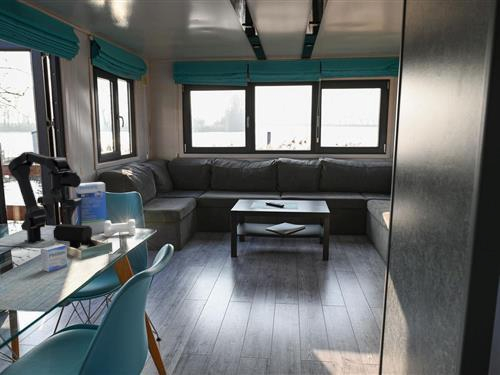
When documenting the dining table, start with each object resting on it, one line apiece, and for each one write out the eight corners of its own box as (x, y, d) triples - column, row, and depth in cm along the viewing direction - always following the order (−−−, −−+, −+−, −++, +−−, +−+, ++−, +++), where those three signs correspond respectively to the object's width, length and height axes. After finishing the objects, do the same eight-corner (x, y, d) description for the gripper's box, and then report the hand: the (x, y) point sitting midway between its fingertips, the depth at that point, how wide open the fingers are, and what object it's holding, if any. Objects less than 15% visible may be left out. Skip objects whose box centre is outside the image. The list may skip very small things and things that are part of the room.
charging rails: (53, 248, 173) (52, 239, 173) (82, 241, 185) (82, 233, 184) (82, 259, 159) (82, 250, 159) (112, 251, 171) (112, 242, 170)
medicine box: (48, 272, 145) (46, 250, 144) (41, 270, 147) (40, 248, 146) (67, 266, 151) (66, 245, 150) (61, 264, 154) (59, 243, 152)
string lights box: (104, 229, 207) (102, 181, 204) (107, 232, 201) (105, 183, 197) (77, 232, 200) (75, 183, 196) (80, 235, 194) (78, 185, 190)
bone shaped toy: (135, 233, 203) (134, 218, 202) (135, 236, 194) (135, 220, 194) (104, 235, 198) (104, 219, 198) (104, 238, 190) (103, 221, 189)
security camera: (89, 251, 170) (88, 229, 169) (52, 248, 174) (51, 226, 172) (98, 246, 177) (97, 225, 176) (63, 243, 181) (62, 222, 179)
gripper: (27, 186, 167) (29, 221, 169) (65, 189, 164) (67, 225, 166) (45, 183, 178) (46, 216, 180) (81, 185, 174) (82, 219, 177)
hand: (60, 219), depth 176 cm, fingers open, 9 cm apart
